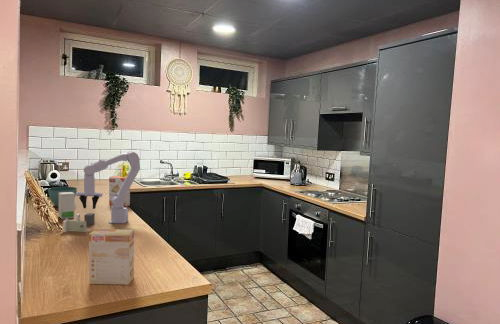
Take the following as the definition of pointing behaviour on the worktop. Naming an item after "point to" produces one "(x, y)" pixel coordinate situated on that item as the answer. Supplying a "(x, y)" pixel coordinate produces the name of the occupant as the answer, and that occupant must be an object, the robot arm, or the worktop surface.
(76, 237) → the worktop surface
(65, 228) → the wall frame
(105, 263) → the coffeecake box
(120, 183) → the cracker box
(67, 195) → the skincare box
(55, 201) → the plant pot
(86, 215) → the grey block
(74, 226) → the door
